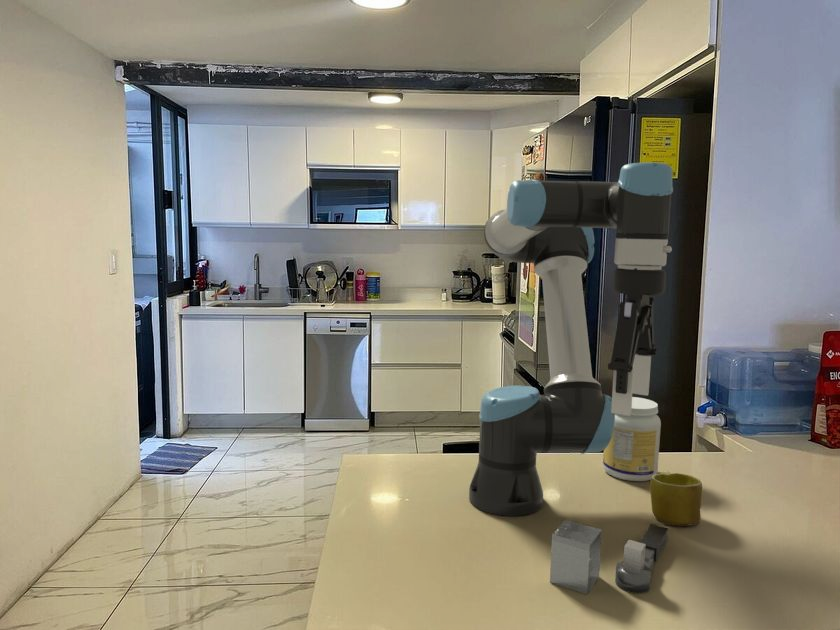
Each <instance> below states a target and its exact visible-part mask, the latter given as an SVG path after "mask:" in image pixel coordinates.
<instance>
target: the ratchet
mask: <svg viewBox="0 0 840 630" xmlns="http://www.w3.org/2000/svg"><path fill="white" fill-rule="evenodd" d="M668 534H669V528H668V527H666V526H661V525H656V524H653V523H650V525H649V526H648V528H647V529H646V531H645V533H644V534H643V535H642V537H641V539H640V540H639V541H636V540H631V539H628V541H626V543H625V545H624V547H623V548H624V549H623V560H620V561H618V562H617V563H616V565H615V578H614V579H615V581H614V582H615V585H616V586H617V587H619V588H620V589H621V590H622V591H625V592H628V593H632V594H644V593H647V592H649V591H650V589H651V579H652V574H653V571H654V564H655V563H657V561H658V560H659V557H660V556H661V553H662V552H663V550H664V548H665V546H666V544H667V543H668Z"/></svg>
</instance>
